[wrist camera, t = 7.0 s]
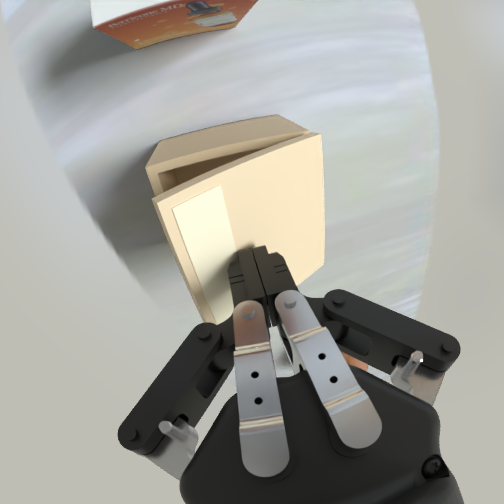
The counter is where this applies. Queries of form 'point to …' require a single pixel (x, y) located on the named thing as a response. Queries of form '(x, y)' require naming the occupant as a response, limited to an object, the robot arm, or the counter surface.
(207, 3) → the small box
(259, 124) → the carton
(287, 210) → the lid
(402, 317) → the robot arm
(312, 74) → the counter surface
